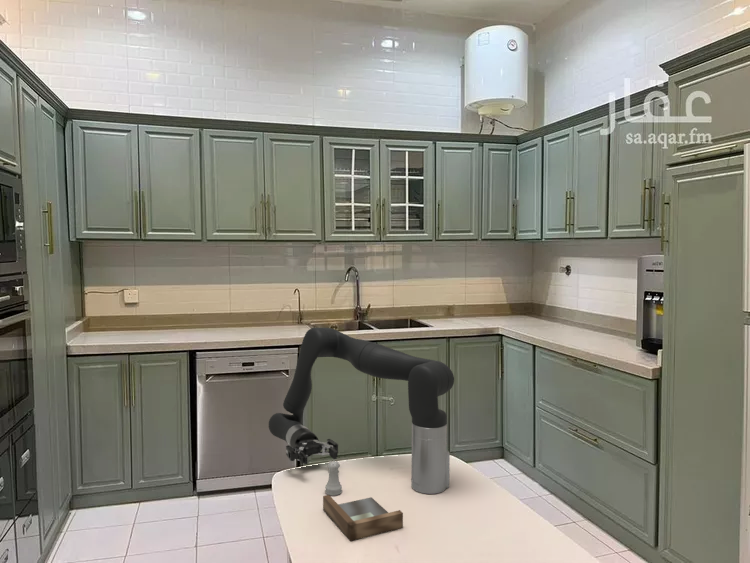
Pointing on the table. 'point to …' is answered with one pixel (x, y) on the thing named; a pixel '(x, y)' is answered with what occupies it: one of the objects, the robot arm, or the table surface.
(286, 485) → the table surface
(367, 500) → the corner arena
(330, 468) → the rook chess piece
